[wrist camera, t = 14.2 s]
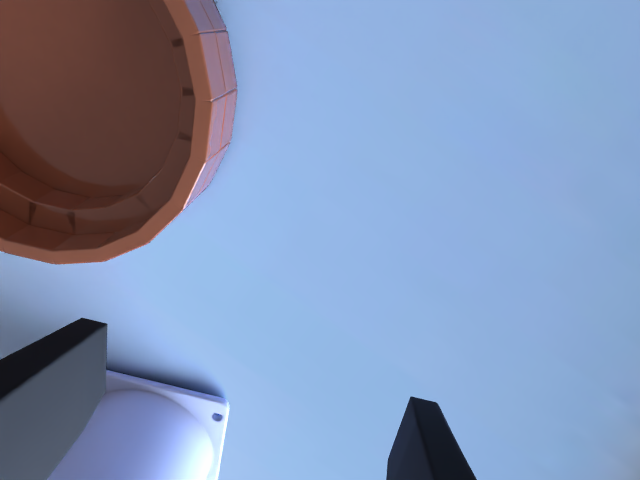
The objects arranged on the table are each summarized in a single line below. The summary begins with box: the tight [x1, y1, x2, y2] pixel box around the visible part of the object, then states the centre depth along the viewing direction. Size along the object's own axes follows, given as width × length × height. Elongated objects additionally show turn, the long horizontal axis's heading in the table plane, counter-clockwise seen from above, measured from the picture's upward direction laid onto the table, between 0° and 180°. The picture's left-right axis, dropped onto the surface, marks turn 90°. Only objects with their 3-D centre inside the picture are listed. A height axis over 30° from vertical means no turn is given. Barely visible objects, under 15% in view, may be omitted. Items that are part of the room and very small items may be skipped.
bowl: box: [0, 0, 237, 264], centre depth 18 cm, size 13×13×4 cm
